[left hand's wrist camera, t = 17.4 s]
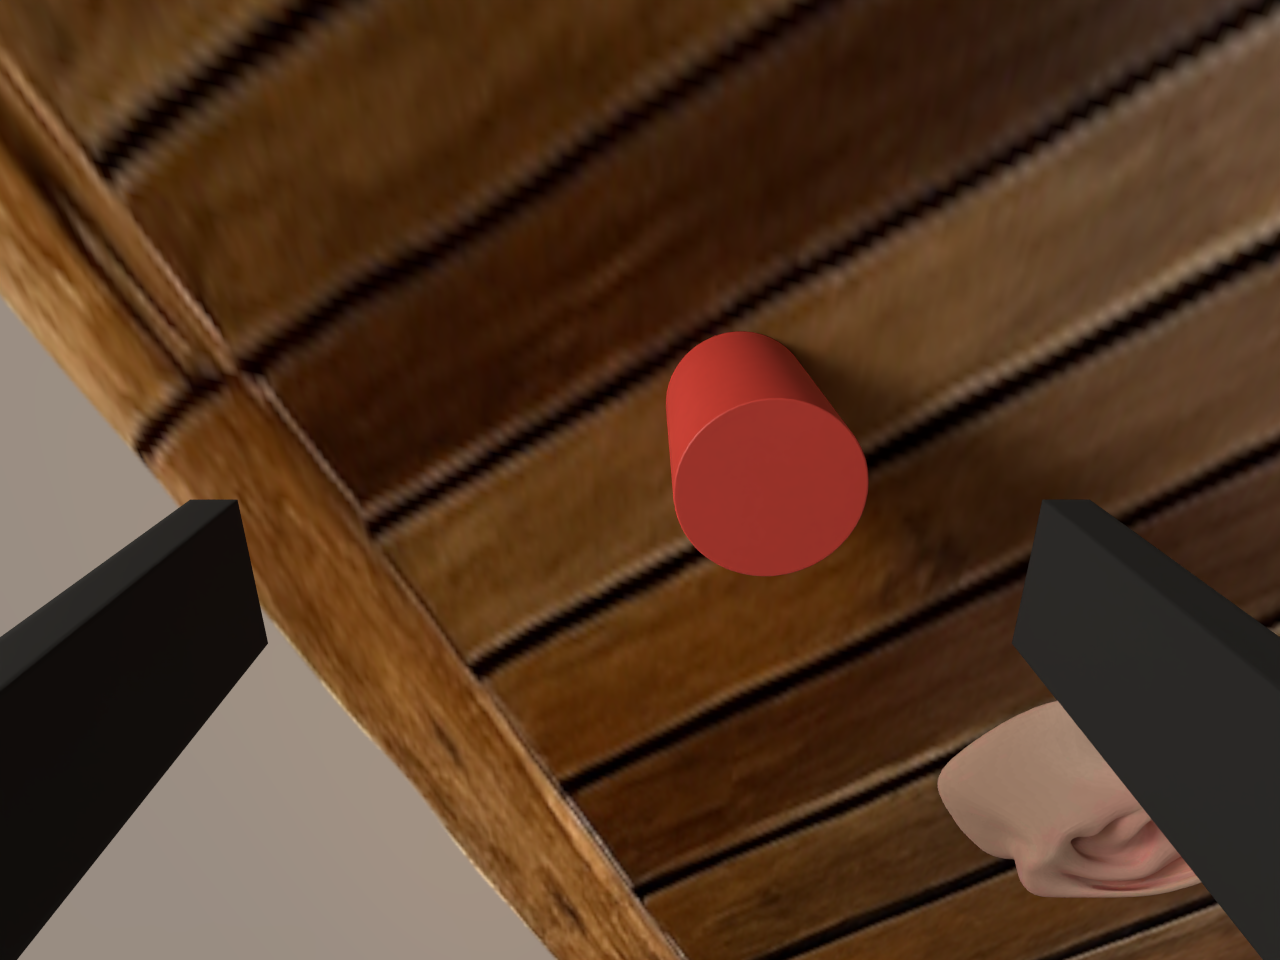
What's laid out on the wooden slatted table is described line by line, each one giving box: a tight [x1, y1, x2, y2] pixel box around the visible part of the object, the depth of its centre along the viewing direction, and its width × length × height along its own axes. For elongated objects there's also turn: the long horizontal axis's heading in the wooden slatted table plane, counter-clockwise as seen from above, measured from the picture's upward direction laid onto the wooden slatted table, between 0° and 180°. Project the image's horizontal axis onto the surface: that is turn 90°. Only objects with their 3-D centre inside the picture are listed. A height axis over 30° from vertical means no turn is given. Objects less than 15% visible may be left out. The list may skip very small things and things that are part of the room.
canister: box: [666, 332, 869, 576], centre depth 27 cm, size 6×6×9 cm
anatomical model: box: [938, 701, 1201, 897], centre depth 37 cm, size 13×4×12 cm
